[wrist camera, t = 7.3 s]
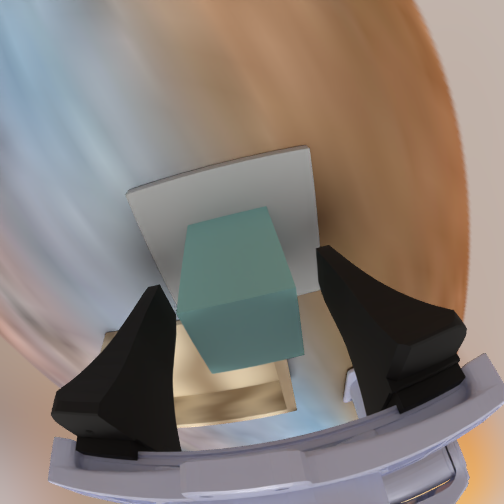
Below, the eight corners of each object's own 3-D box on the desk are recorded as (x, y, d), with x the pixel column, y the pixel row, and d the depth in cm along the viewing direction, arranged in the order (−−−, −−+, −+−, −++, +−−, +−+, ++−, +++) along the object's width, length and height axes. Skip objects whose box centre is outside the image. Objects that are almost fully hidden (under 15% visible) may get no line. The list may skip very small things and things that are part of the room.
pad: (305, 145, 13) (309, 148, 12) (319, 283, 18) (322, 289, 18) (128, 190, 13) (125, 194, 13) (185, 313, 18) (184, 320, 18)
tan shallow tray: (272, 300, 18) (283, 342, 16) (289, 378, 25) (297, 410, 22) (105, 332, 19) (95, 370, 16) (164, 398, 25) (162, 428, 22)
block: (266, 206, 14) (296, 287, 9) (278, 268, 16) (304, 354, 11) (187, 225, 14) (176, 313, 9) (209, 284, 16) (212, 374, 11)
